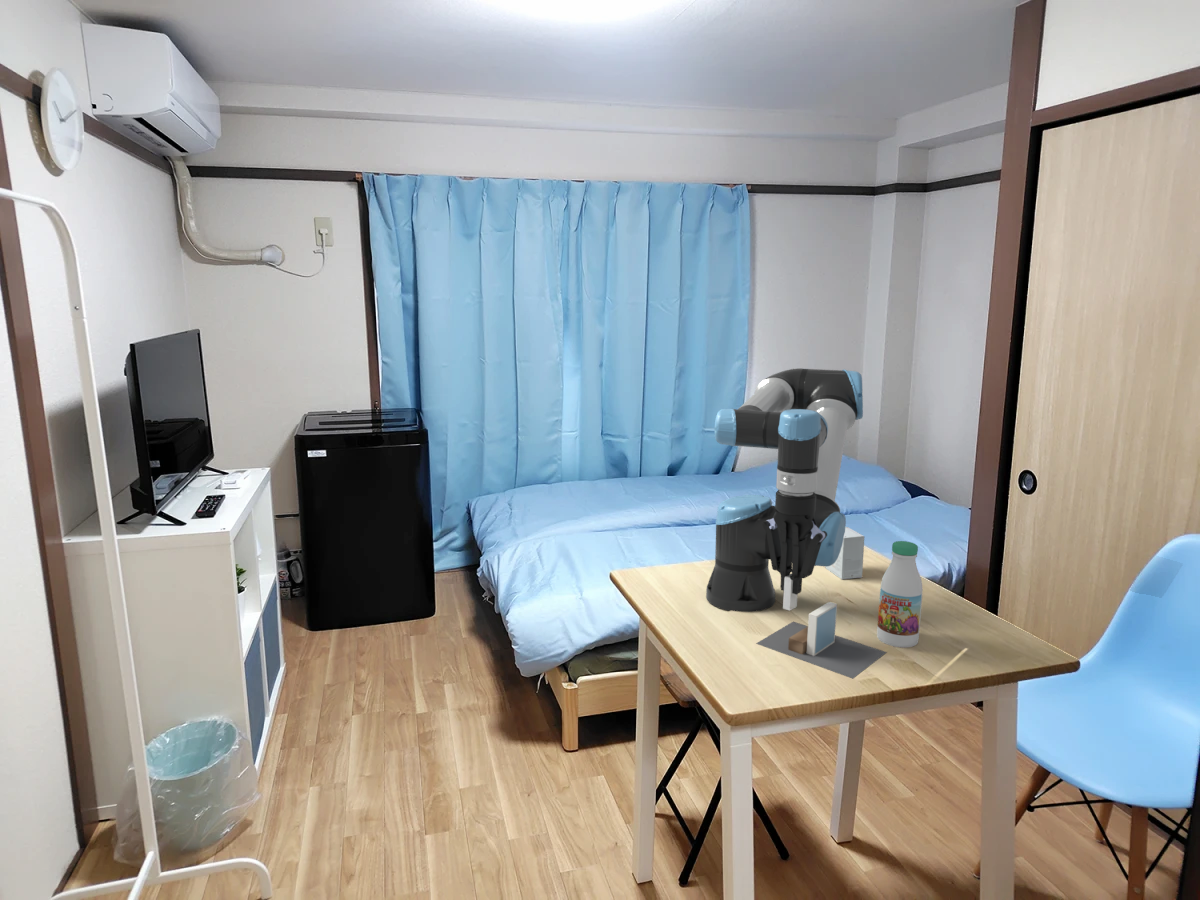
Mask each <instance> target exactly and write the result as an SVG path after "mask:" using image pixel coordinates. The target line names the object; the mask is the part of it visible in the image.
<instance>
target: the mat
mask: <svg viewBox="0 0 1200 900" xmlns="http://www.w3.org/2000/svg"><path fill="white" fill-rule="evenodd" d="M807 626H808V625H804V624H802V623H800V622H796V621H791V622H790V623H787V625H784V626H783V627H782V628H779V629H778V630H776V631H774V632H773V633H771V634H769V635H768V636H767V637H765V638H762V639H761V640H759V641H758V642H756V643H755V644H756V645H759V646H761V647H764V648H767V649H770V650H771V651H775V652H778V653H781V654H784V655H787V656H790V657H792V658H794V659H797V660H800V661H803V662H806V663H807V664H808V663H809V664H811V665H814V666H817V667H820V668H823V669H825V670H828V671H830V672H832V673H835V674H839V675H841V676H844V677H847V678H850V679H855V678H856V677H857V676H858V675H860V674H861V673H862V672H863V671H864V670H866V669H867V668H869V667H870V666H871V665H872V664H874V663H875V662H877V661H878V660H879V659H881V657H883V656H884V655H886V654H887V653H888V652H887V651H884V650H882V649H879V648H875V647H872V646H869V645H867V644H864V643H860V642H858V641H854V640H851V639H848V638H845V637H842V636H839V635H837V634H835V642H834V643H833V644H831V645H830V646H828V647H827V648H825V649H824V650H822V651H821V652H819V653H818V654H816V655H815V656H813V655H810V654H807V652H806V653H804V654H803V655H802V654H799V653H796V652H794V651H791V650H788V646H789V638H790V637H791V636H793V635H795V634H796V633H798V632H799V631H801V630H803V629H804V628H806V627H807Z"/></svg>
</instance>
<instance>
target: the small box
mask: <svg viewBox="0 0 1200 900" xmlns="http://www.w3.org/2000/svg"><path fill="white" fill-rule="evenodd" d="M864 549H865V536H864V535H863V534H861V533H859V532H858V531H856V530H854V529H852V528H850V527H849V526H848V527H847V526H845V533H844V537H843V543H842V547H841V550H840V553H839V556H838V558H837V560H836V562H835V563H834V564H832V565H831V566H825V569H826V570H827V571H829V572H830V573H832V574H833V575H835V576H836V577H837V578H839V579H840V580H849V579H850V580H851V579H859V578H860V579H861V578H863V569H864V568H863V567H864V553H865V552H864V551H865V550H864Z"/></svg>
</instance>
